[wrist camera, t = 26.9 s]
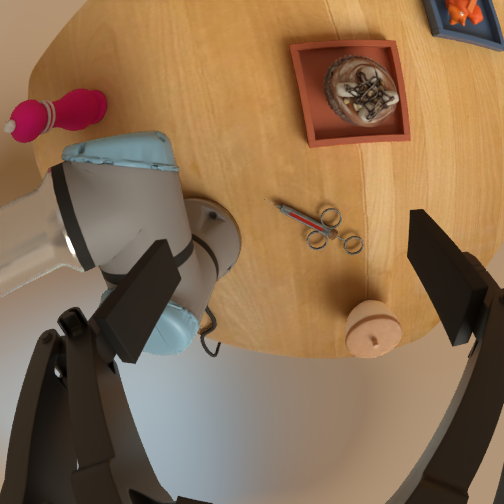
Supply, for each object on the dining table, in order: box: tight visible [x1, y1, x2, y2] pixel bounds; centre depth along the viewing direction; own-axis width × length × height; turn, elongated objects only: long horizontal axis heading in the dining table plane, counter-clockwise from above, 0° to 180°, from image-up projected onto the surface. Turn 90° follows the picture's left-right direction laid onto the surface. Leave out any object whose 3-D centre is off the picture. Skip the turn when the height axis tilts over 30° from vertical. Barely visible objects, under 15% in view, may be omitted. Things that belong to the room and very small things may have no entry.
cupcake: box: [322, 54, 399, 127], centre depth 28 cm, size 10×10×10 cm
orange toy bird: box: [445, 0, 483, 26], centre depth 18 cm, size 5×8×12 cm
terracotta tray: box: [289, 40, 411, 148], centre depth 32 cm, size 15×15×2 cm
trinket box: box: [345, 300, 402, 358], centre depth 47 cm, size 11×11×9 cm
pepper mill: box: [4, 89, 107, 143], centre depth 30 cm, size 7×7×20 cm
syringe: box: [264, 199, 364, 255], centre depth 43 cm, size 8×18×2 cm, turn 66°
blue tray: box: [422, 0, 504, 52], centre depth 19 cm, size 15×15×2 cm
